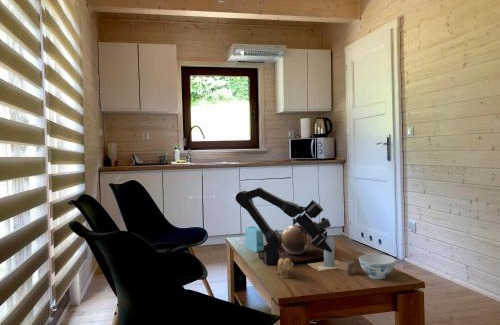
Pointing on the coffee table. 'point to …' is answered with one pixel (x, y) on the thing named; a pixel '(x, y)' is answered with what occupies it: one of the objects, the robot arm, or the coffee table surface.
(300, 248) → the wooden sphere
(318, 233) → the robot arm
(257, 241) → the data package
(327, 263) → the grey cylinder
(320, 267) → the envelope
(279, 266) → the lion figurine
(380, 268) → the chinaware
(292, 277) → the coffee table surface
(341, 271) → the walnut block
